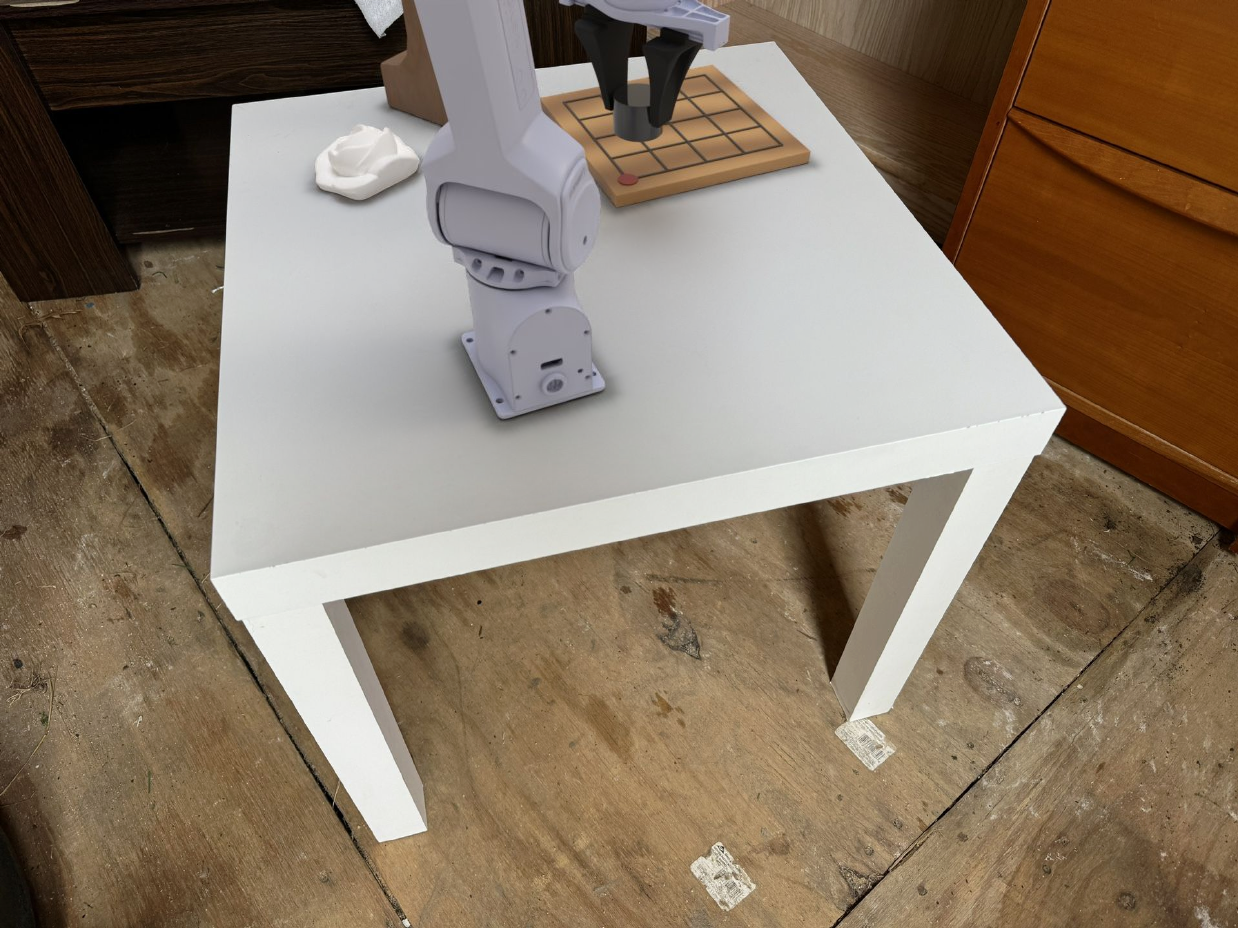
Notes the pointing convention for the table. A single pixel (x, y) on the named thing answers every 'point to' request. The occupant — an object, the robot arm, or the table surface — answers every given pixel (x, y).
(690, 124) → the board
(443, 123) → the wooden block
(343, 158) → the rose
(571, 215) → the robot arm
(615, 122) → the dark grey cylinder puck
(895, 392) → the table surface
